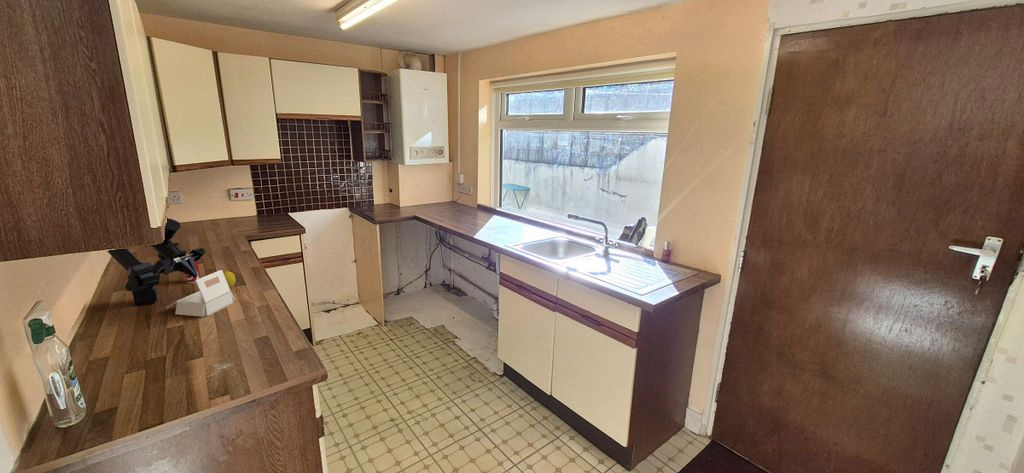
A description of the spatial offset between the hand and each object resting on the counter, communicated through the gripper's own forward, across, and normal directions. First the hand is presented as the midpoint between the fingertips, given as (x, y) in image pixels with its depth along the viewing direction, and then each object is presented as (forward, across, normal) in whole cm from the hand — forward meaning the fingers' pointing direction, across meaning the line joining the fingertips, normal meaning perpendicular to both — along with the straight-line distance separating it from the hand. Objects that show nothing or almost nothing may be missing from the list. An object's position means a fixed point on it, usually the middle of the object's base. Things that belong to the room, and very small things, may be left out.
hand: (196, 276), depth 156 cm
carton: (+9, 0, -10) cm, 13 cm away
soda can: (-10, -24, -28) cm, 39 cm away
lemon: (+5, -20, -13) cm, 24 cm away
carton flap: (+11, 0, 0) cm, 11 cm away
